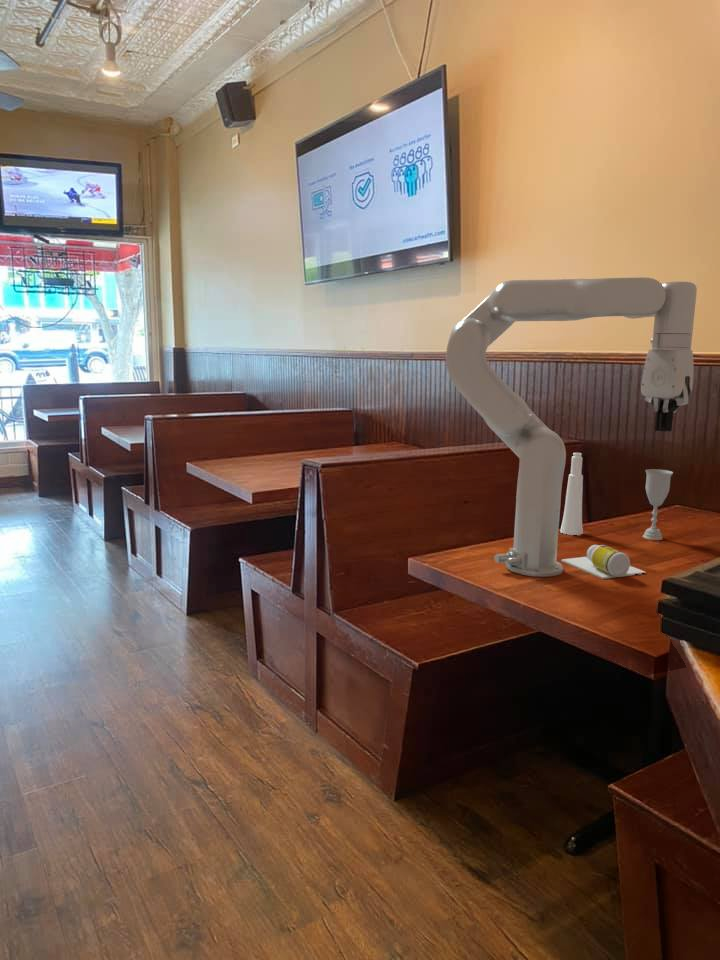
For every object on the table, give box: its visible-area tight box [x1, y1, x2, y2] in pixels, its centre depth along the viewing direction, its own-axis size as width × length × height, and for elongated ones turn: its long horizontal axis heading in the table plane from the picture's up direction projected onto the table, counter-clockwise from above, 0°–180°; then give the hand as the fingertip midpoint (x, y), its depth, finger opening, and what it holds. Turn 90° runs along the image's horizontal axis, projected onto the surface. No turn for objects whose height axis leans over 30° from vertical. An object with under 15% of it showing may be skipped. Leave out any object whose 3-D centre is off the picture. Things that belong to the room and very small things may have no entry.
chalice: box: [642, 468, 674, 541], centre depth 186 cm, size 7×7×18 cm
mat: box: [560, 556, 646, 580], centre depth 160 cm, size 12×14×1 cm
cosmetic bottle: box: [559, 452, 584, 536], centre depth 188 cm, size 6×6×22 cm
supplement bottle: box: [586, 544, 631, 578], centre depth 155 cm, size 5×5×10 cm
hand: (663, 430), depth 149 cm, fingers closed
